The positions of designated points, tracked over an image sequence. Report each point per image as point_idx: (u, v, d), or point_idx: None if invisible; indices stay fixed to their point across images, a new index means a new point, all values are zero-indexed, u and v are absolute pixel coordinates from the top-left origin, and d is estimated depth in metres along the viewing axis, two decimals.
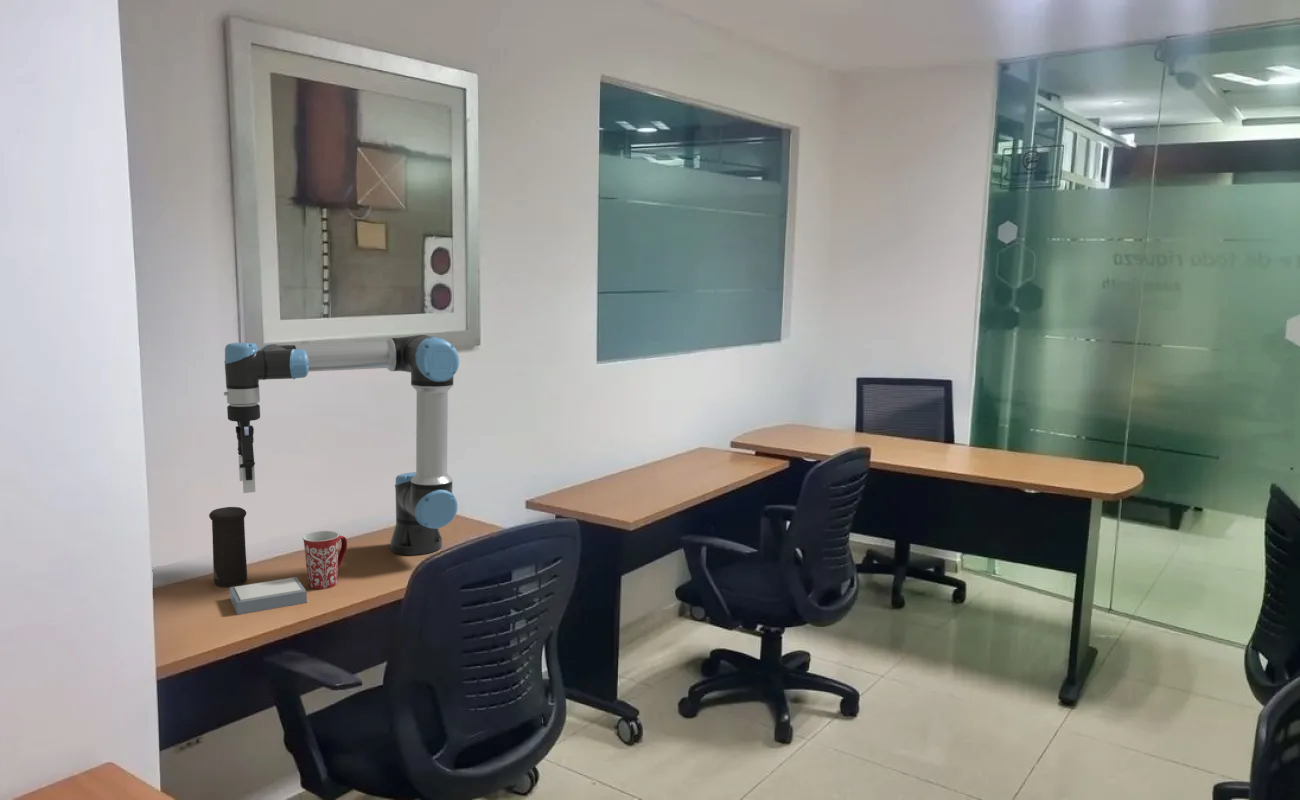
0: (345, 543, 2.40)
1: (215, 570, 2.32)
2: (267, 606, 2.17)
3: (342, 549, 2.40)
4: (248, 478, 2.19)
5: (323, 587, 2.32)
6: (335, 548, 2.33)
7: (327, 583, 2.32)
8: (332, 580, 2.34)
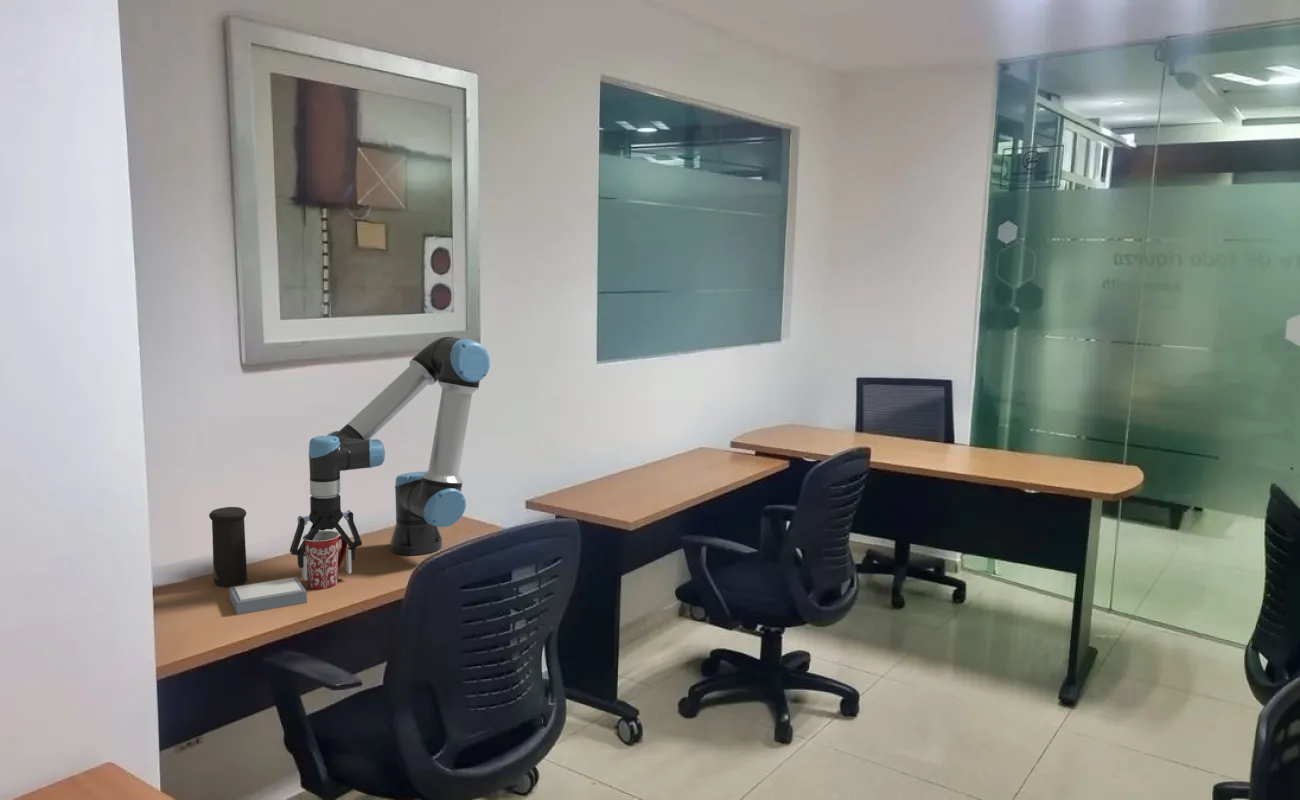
0: (345, 543, 2.40)
1: (215, 570, 2.32)
2: (267, 606, 2.17)
3: (342, 549, 2.40)
4: (298, 565, 2.32)
5: (323, 587, 2.32)
6: (335, 548, 2.33)
7: (328, 583, 2.32)
8: (332, 580, 2.34)
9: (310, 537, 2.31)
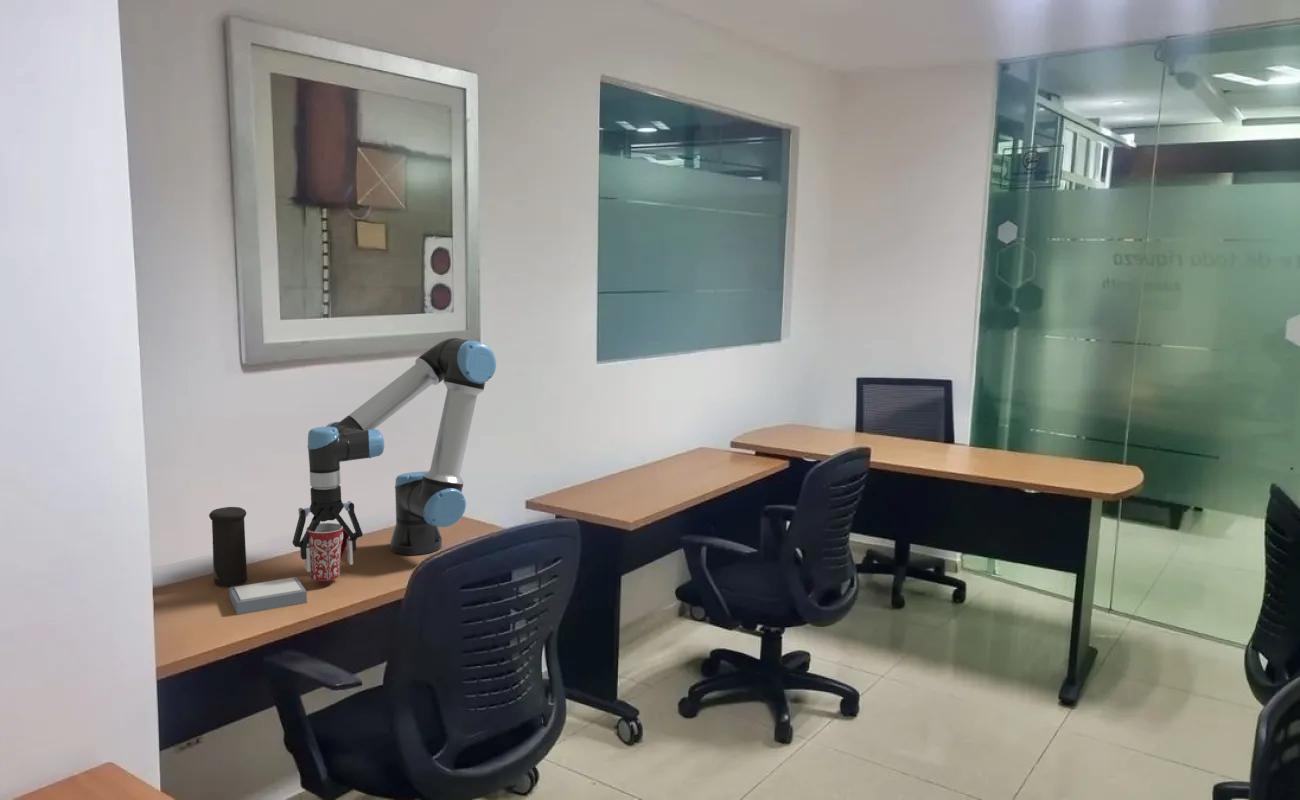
0: (347, 535, 2.41)
1: (215, 570, 2.32)
2: (267, 606, 2.17)
3: (344, 541, 2.41)
4: (301, 557, 2.32)
5: (326, 579, 2.33)
6: (339, 540, 2.34)
7: (331, 575, 2.33)
8: (335, 572, 2.34)
9: (312, 529, 2.31)
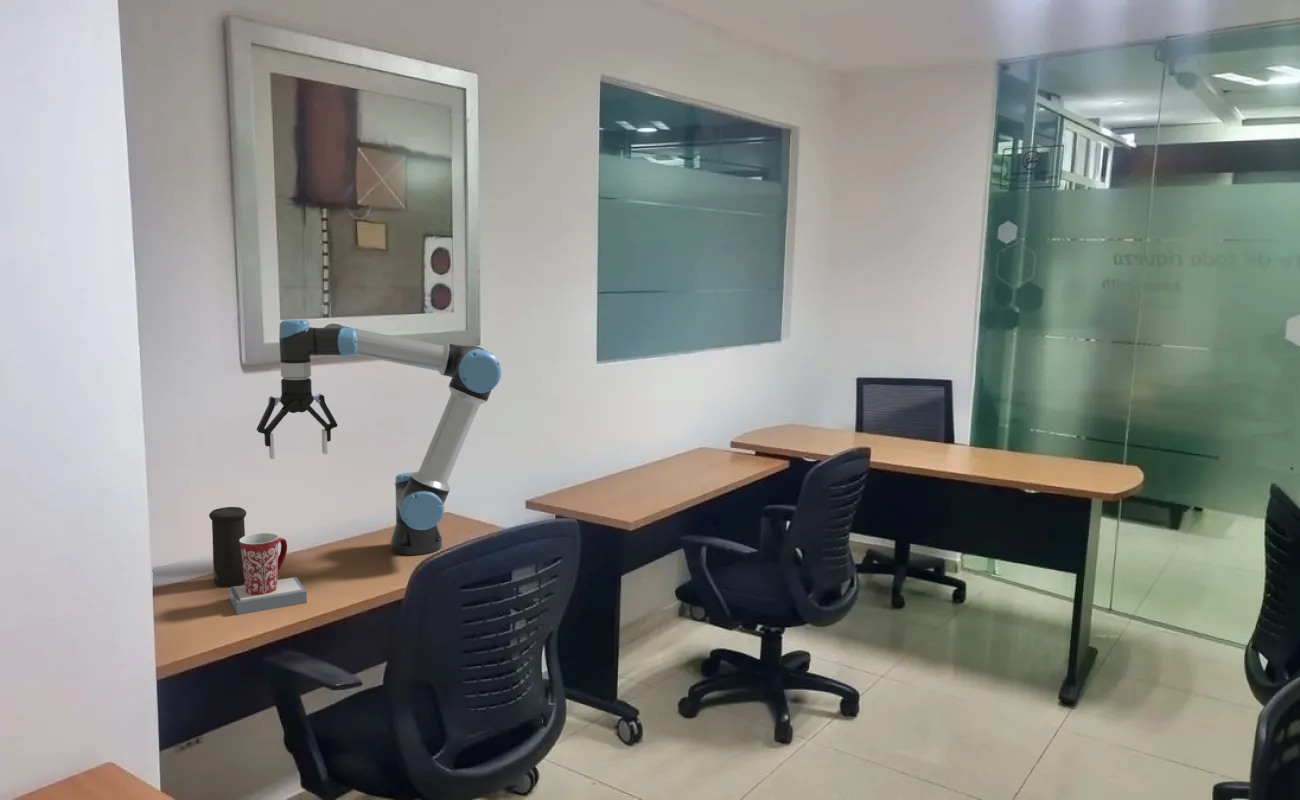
0: (285, 545, 2.27)
1: (215, 570, 2.32)
2: (267, 606, 2.17)
3: (282, 552, 2.27)
4: (265, 444, 2.35)
5: (262, 592, 2.18)
6: (275, 551, 2.19)
7: (267, 588, 2.19)
8: (272, 585, 2.20)
9: (279, 417, 2.35)
